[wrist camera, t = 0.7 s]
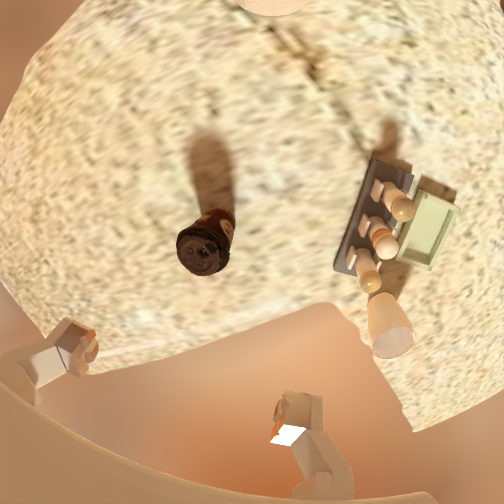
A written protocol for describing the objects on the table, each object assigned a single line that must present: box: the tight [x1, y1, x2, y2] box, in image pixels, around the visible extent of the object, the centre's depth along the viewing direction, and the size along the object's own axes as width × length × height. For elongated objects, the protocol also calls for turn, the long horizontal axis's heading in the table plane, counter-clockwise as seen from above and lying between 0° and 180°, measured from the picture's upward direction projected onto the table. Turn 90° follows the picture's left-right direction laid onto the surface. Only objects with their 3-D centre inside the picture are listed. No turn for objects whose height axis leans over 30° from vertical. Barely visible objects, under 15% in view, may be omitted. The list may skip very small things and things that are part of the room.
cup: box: [367, 293, 415, 359], centre depth 51 cm, size 9×9×12 cm
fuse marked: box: [367, 215, 399, 260], centre depth 43 cm, size 4×4×9 cm
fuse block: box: [333, 158, 414, 277], centre depth 46 cm, size 22×8×5 cm, turn 168°
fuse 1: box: [354, 247, 382, 293], centre depth 46 cm, size 4×4×9 cm
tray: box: [394, 188, 460, 271], centre depth 46 cm, size 14×9×2 cm, turn 168°
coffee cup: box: [176, 207, 235, 276], centre depth 47 cm, size 9×8×13 cm
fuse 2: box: [380, 181, 415, 222], centre depth 40 cm, size 4×4×9 cm
